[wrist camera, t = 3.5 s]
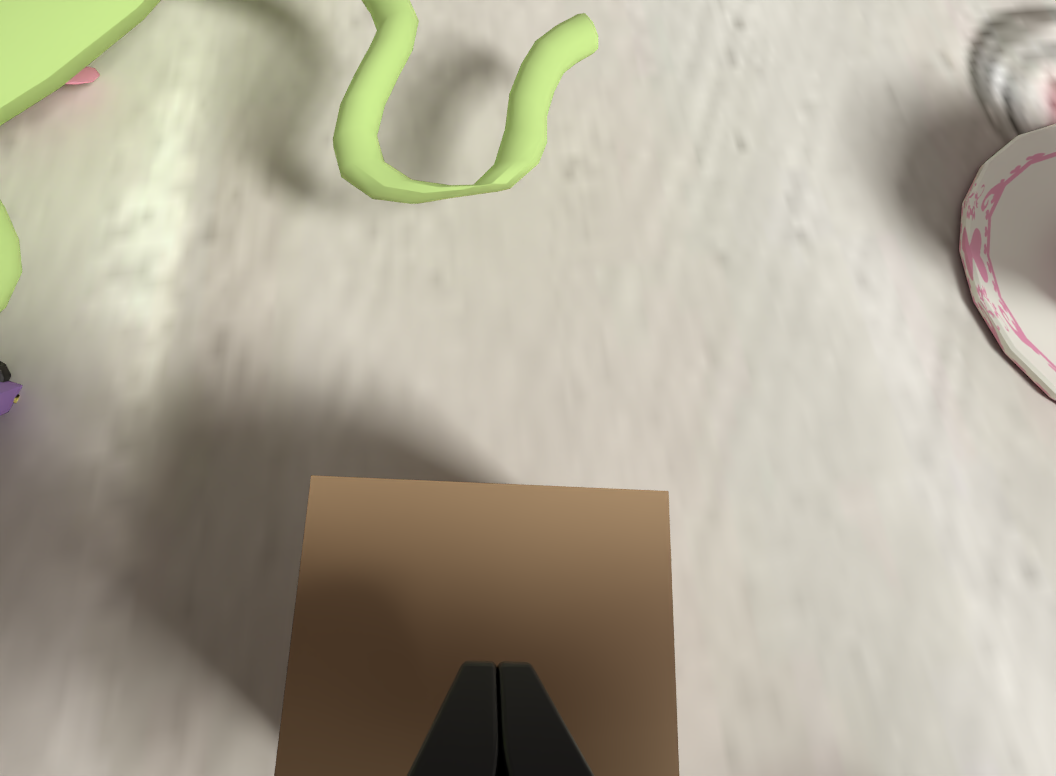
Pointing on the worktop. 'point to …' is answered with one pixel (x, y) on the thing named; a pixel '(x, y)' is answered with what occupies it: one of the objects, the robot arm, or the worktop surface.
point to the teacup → (1016, 251)
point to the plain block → (478, 618)
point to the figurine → (122, 3)
